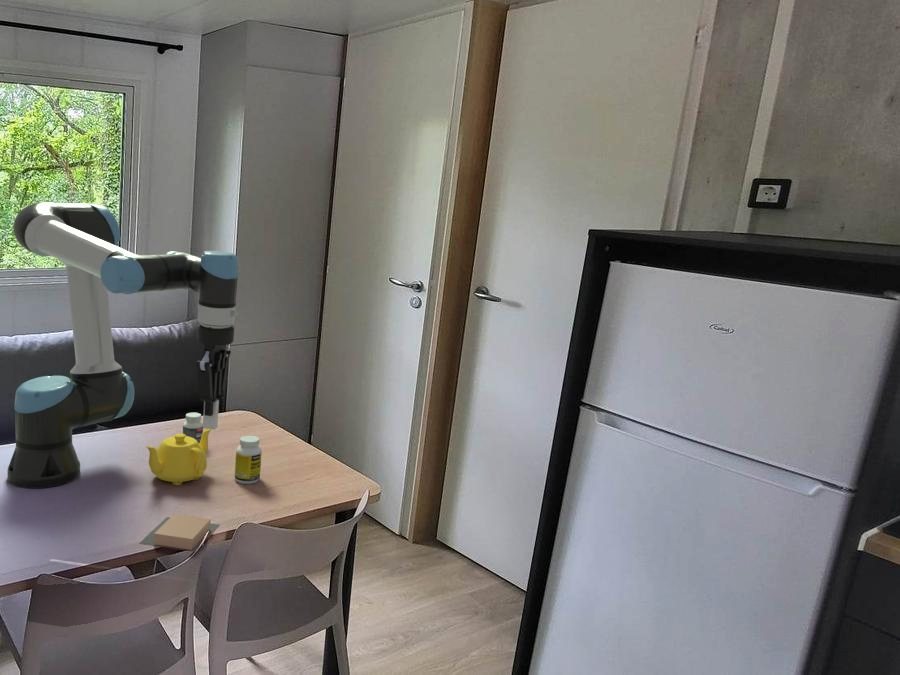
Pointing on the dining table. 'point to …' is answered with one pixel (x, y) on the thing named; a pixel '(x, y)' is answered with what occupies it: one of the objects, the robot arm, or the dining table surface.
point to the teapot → (179, 458)
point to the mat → (150, 541)
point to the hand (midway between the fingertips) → (210, 427)
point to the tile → (182, 531)
